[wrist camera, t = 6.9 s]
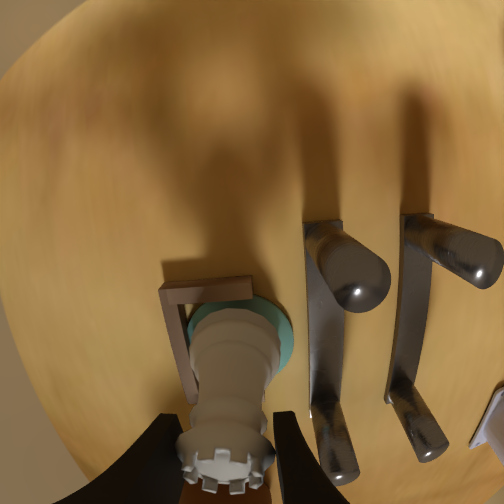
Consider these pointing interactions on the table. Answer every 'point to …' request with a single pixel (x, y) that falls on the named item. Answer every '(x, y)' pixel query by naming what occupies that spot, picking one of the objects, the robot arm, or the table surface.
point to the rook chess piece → (230, 401)
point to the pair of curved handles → (406, 327)
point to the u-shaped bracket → (215, 299)
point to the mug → (224, 495)
